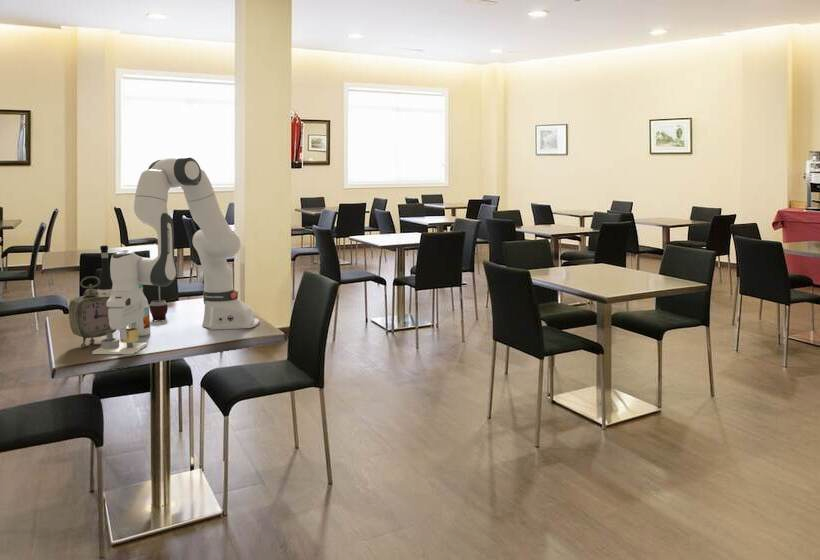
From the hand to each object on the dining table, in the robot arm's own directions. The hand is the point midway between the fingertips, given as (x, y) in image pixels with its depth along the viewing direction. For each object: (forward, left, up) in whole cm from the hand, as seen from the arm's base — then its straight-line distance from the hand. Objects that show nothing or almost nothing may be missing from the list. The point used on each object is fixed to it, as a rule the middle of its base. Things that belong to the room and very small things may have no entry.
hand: (129, 336), depth 246 cm
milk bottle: (+7, -23, -5) cm, 24 cm away
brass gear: (0, 0, -2) cm, 2 cm away
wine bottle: (+36, -60, -5) cm, 70 cm away
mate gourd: (+10, -49, -5) cm, 50 cm away
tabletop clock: (+17, -8, -5) cm, 20 cm away
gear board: (+4, 0, -5) cm, 6 cm away
